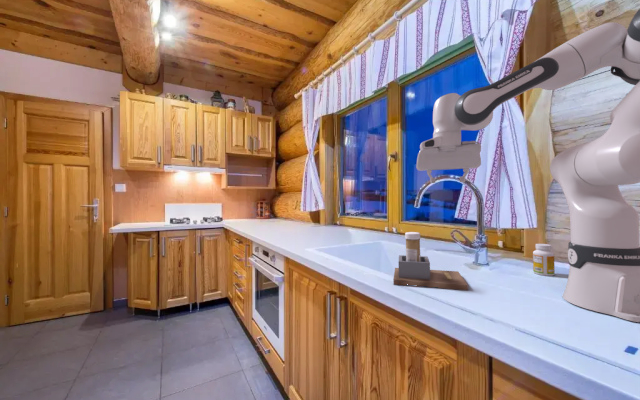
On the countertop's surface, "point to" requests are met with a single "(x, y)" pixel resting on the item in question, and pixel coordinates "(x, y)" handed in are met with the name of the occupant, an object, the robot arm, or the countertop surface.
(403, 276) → the grey square open box
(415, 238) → the sprinkles bottle
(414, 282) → the wooden board
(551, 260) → the supplement bottle
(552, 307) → the countertop surface
